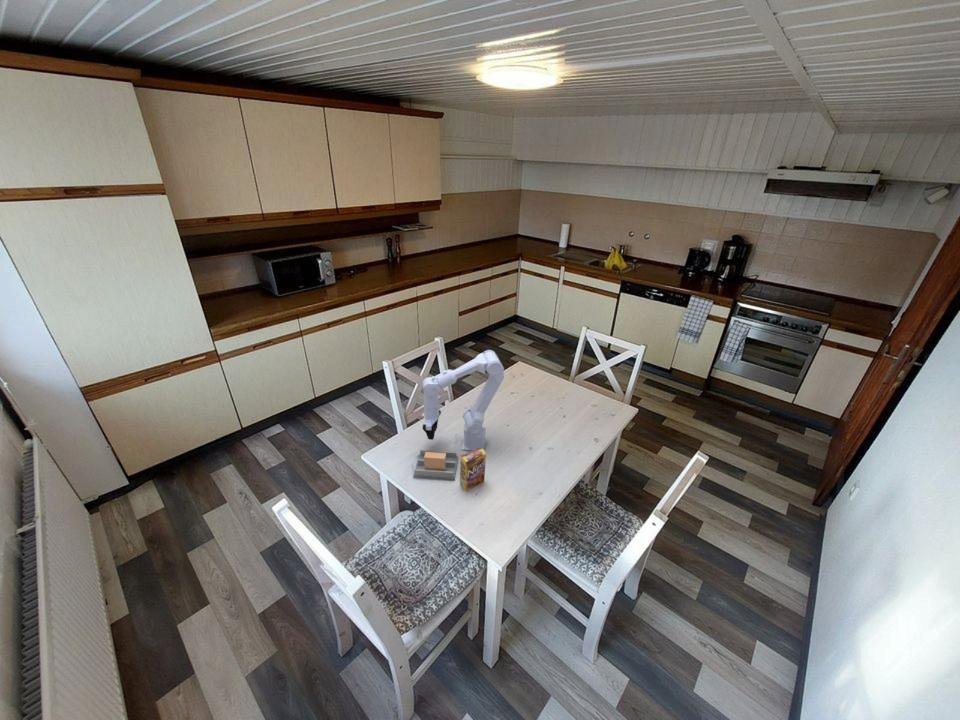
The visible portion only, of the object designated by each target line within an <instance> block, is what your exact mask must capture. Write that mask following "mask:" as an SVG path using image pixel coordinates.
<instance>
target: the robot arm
mask: <svg viewBox="0 0 960 720" xmlns="http://www.w3.org/2000/svg"><path fill="white" fill-rule="evenodd" d="M504 371H505V367H504V366H503V363H502V361H500V359H499V356H498V354H497V353H496V352H495V351H494V350H491V349H487V350H485V351H483V352H481V353H479V354H478V355H476V357H475V358H473V359H472V360H469V361H468V362H466V363H465V364H462V365H461V366H459V367H457V368H455V369H447V370H446V369H444V370H443V371H442V372H441V373H438V374H436V375H435V376H434V375H432V376H427V377H425V378H424V379H423V380H422V382H421V385H422V390H423V410H424V412H422V413H421V417H422V418H424V421H425V422H424V423H425V424H424V423H423V424H422V430H423V431H424V432H425V434H426V437H427V439H428V440H432V441H433V440H434V439H435V433H436V431H437V428H438V421H439V418H440V416H441V414H442V410H440V409H439V408H440V407H439V404H440V403H439V394H440V392H441V391H442V390H443V389H445V388H447V387H450V386H451V385H453V384H456V383H457V380H458V379H460V378H462V377H464V376H466V375H467V376H468V375H470V374H471V373H474V372H479V373H482V374H486V373H487V374H488V375H489V377H488V378H487V380H486V382H485V383H484V386H483V387H482V389H481V391H480V393H479V395H478V397H477V398H476V400H475V402H474V403H473V405H470V406H469V408H468V409H467V410H466V411H465V412H463V415H462V418H463V420H464V425H463V440H462V447H461V450H463V451H472V450H475V449H477V448H479V447H481V448H482V449H483V450H484V451H485V448H486V444H487V440H486V427H483V424H484V421H485V413H486V411H487V410H488V407H490V404H491V403H492V400H493V399H494V397H495V395H496V394H497V392H498V390H499V388H500V386H501V384H502V382H503V381H504V379H505V375H504V373H505V372H504Z"/></svg>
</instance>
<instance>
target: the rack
mask: <svg viewBox="0 0 960 720" xmlns="http://www.w3.org/2000/svg"><path fill="white" fill-rule="evenodd" d="M425 452H434V453H446V468H447V469H446V471H438V470H425V464H424V456H425ZM458 462H459V456H458V452H457V451H448V450H446V451H445V450H432V449H430V450H429V449H420V451H419V454H418V458H417V463H416V466H415V468H414V472H413V474H412V475H413V476H412V477H413V479H414V478H415V479H428V480H442V481H455V479H456V474H457V468H458Z"/></svg>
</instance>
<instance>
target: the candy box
mask: <svg viewBox="0 0 960 720" xmlns="http://www.w3.org/2000/svg"><path fill="white" fill-rule="evenodd" d="M486 458H487V453H486V451H485V449H484V450H483V449H482V448H481V447H479V448H477V449H475V450H469V451H468V452H466V453H464V454H460V458H459V459H460V460H459V461H460V467H459V486H460V487H461V488H462V489H463V491H464V492H467V491H469V490H471V489H472V488H474V487H476V486H478V485H481V484H483V483H485V477H486V476H485V475H486V460H487V459H486Z"/></svg>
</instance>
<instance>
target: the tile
mask: <svg viewBox="0 0 960 720" xmlns="http://www.w3.org/2000/svg"><path fill="white" fill-rule="evenodd" d="M424 464H425V470H438V471H446V469H447V468H446V453H434V452H425V456H424Z"/></svg>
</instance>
